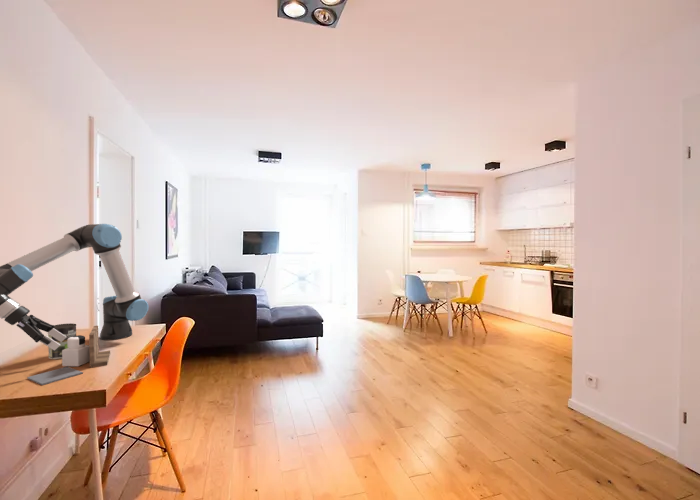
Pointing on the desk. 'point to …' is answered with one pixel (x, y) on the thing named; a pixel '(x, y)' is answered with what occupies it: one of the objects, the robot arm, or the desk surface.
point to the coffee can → (68, 331)
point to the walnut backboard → (97, 350)
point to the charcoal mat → (54, 375)
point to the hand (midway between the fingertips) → (61, 343)
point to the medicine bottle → (76, 352)
